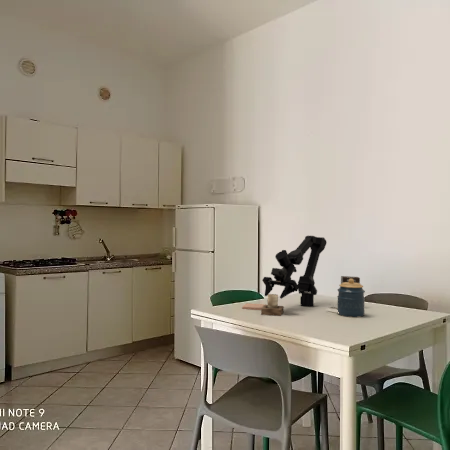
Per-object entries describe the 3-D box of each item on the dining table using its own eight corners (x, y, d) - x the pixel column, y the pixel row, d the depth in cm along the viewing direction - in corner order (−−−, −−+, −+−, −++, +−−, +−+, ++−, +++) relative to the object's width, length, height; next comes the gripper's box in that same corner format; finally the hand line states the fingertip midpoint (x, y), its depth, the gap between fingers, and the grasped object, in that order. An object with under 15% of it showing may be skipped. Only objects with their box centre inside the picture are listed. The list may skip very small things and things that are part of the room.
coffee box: (341, 307, 234) (342, 277, 234) (339, 305, 240) (340, 276, 240) (359, 308, 233) (360, 277, 233) (357, 306, 239) (357, 276, 239)
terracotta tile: (266, 306, 233) (266, 304, 233) (263, 310, 222) (263, 308, 222) (246, 305, 236) (246, 303, 236) (242, 308, 225) (242, 306, 225)
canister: (345, 317, 207) (346, 280, 207) (332, 312, 219) (332, 277, 220) (370, 316, 210) (370, 279, 210) (355, 311, 223) (355, 276, 223)
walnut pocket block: (283, 312, 218) (283, 306, 218) (280, 315, 209) (281, 309, 209) (264, 310, 220) (264, 304, 220) (261, 314, 211) (261, 308, 211)
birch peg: (278, 312, 216) (278, 294, 216) (276, 314, 211) (277, 295, 211) (268, 312, 218) (268, 293, 218) (266, 314, 213) (266, 295, 213)
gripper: (264, 260, 225) (250, 284, 217) (295, 263, 212) (282, 288, 204) (273, 275, 231) (260, 298, 222) (304, 278, 218) (291, 303, 210)
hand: (272, 296), depth 215 cm, fingers open, 9 cm apart
